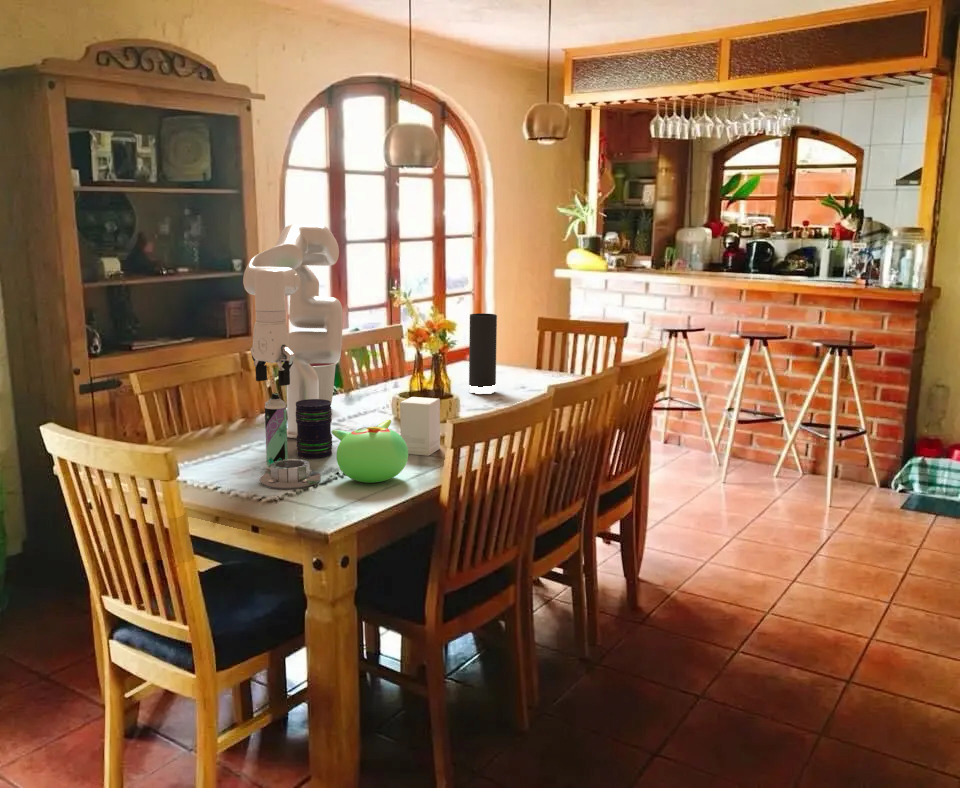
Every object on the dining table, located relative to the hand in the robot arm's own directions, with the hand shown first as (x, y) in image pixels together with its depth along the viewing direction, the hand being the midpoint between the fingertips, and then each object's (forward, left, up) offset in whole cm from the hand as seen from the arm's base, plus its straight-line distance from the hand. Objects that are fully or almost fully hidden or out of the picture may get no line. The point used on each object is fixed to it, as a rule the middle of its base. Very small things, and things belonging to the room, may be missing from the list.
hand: (272, 382), depth 228 cm
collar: (+5, +13, -23) cm, 26 cm away
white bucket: (-53, -50, -23) cm, 77 cm away
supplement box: (-38, +17, -23) cm, 48 cm away
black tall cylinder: (-117, -27, -23) cm, 122 cm away
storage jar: (-15, -2, -23) cm, 28 cm away
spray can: (0, +1, -23) cm, 23 cm away
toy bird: (-9, +28, -23) cm, 37 cm away
